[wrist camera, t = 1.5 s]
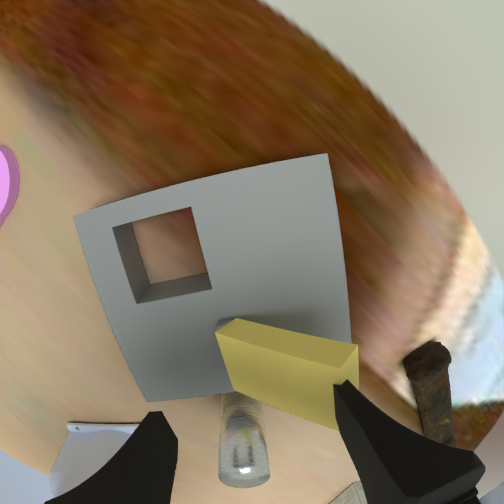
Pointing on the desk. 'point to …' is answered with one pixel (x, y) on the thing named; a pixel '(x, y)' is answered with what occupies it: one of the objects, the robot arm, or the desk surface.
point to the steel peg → (242, 442)
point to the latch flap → (287, 368)
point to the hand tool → (432, 390)
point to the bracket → (8, 182)
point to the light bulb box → (352, 495)
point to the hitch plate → (222, 271)
